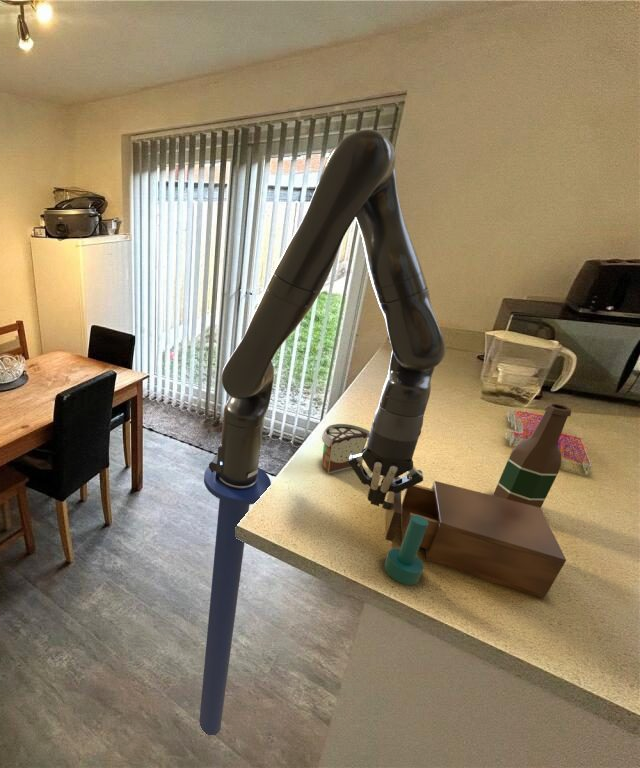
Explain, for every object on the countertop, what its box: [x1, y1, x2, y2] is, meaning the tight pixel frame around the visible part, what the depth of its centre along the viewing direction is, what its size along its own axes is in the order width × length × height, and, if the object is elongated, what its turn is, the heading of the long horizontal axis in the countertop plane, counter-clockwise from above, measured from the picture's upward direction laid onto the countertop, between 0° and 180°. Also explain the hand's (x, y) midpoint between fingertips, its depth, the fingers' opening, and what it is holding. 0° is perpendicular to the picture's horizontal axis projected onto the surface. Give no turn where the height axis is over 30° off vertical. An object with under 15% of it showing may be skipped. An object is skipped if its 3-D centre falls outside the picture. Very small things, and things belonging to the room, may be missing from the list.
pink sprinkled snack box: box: [505, 408, 593, 477], centre depth 106 cm, size 30×15×5 cm, turn 139°
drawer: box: [381, 476, 439, 550], centre depth 76 cm, size 16×13×7 cm
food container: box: [321, 423, 371, 474], centre depth 98 cm, size 12×6×10 cm, turn 108°
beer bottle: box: [492, 403, 572, 509], centre depth 80 cm, size 8×8×24 cm
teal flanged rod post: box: [383, 515, 428, 586], centre depth 67 cm, size 5×5×12 cm
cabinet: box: [425, 480, 567, 600], centre depth 72 cm, size 16×14×9 cm
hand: (374, 502), depth 80 cm, fingers closed
